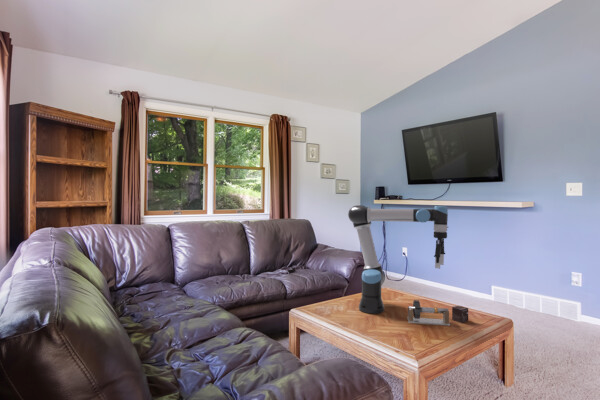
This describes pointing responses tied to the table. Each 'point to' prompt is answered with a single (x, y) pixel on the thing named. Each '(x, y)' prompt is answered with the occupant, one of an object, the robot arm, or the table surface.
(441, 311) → the pipe rig
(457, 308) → the box
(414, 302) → the grey hex nut
